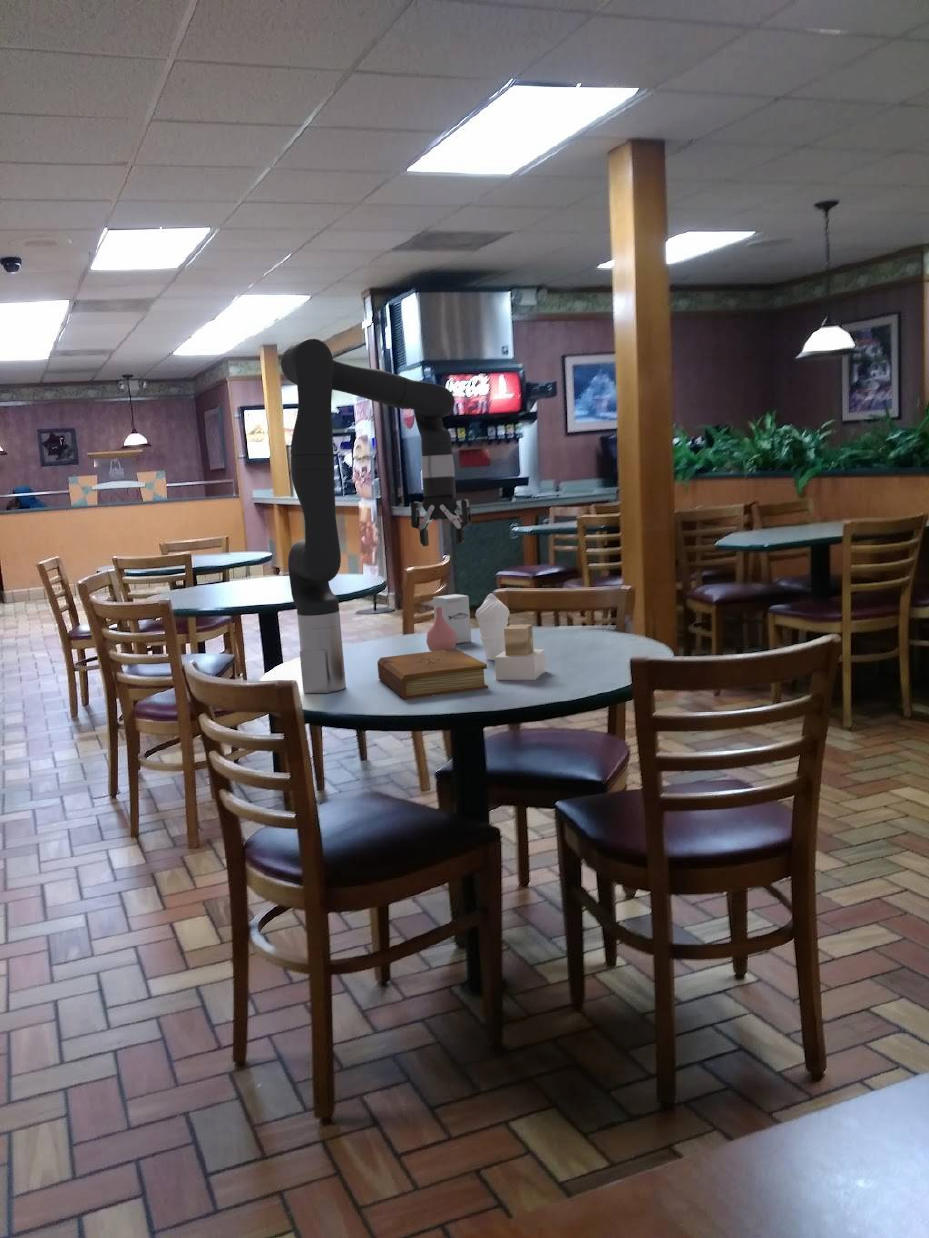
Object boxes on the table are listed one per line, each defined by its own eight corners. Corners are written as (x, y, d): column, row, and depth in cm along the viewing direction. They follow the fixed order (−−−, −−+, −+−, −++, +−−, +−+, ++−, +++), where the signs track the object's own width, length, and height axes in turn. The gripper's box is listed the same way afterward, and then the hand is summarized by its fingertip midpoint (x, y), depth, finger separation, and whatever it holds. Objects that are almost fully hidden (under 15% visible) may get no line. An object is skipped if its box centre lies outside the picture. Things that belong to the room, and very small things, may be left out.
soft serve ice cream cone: (512, 660, 245) (508, 594, 242) (478, 663, 245) (473, 596, 242) (512, 654, 253) (508, 590, 250) (478, 656, 253) (474, 592, 251)
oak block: (527, 655, 223) (525, 628, 222) (505, 655, 225) (503, 628, 224) (533, 651, 228) (532, 624, 227) (512, 651, 230) (510, 624, 229)
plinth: (535, 679, 221) (534, 657, 221) (496, 679, 224) (494, 657, 224) (546, 671, 230) (544, 649, 229) (507, 671, 233) (506, 649, 232)
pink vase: (459, 650, 263) (455, 604, 261) (455, 656, 256) (452, 608, 254) (429, 652, 264) (426, 606, 262) (425, 657, 256) (421, 610, 255)
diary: (379, 682, 233) (377, 658, 232) (457, 672, 238) (455, 648, 238) (403, 701, 211) (401, 674, 210) (488, 690, 217) (486, 663, 216)
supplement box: (448, 645, 272) (444, 598, 270) (435, 642, 278) (432, 596, 276) (472, 641, 275) (469, 595, 273) (459, 638, 282) (456, 593, 280)
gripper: (403, 477, 235) (408, 547, 237) (461, 474, 230) (465, 546, 232) (416, 476, 242) (420, 545, 244) (472, 473, 237) (476, 543, 239)
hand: (442, 545), depth 238 cm, fingers open, 8 cm apart
